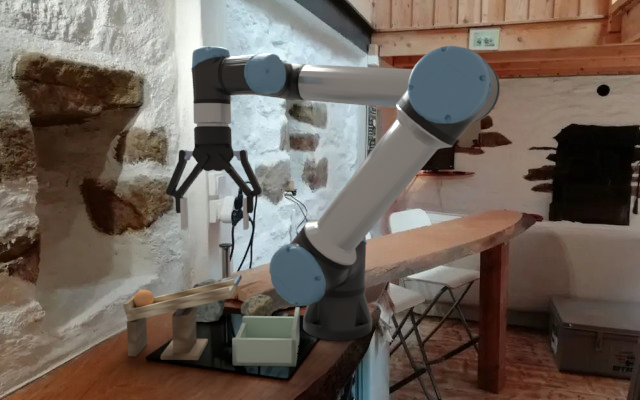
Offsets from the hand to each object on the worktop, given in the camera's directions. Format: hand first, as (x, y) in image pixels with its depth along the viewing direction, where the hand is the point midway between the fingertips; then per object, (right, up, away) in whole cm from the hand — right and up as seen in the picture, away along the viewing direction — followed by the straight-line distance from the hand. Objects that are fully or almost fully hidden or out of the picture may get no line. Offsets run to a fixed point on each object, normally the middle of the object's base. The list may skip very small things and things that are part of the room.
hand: (215, 228), depth 106 cm
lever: (-4, -15, -6) cm, 16 cm away
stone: (-4, -21, +10) cm, 24 cm away
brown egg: (-12, -13, -9) cm, 20 cm away
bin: (+12, -24, -8) cm, 28 cm away
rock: (+7, -21, +13) cm, 26 cm away
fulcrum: (-8, -23, -8) cm, 26 cm away
